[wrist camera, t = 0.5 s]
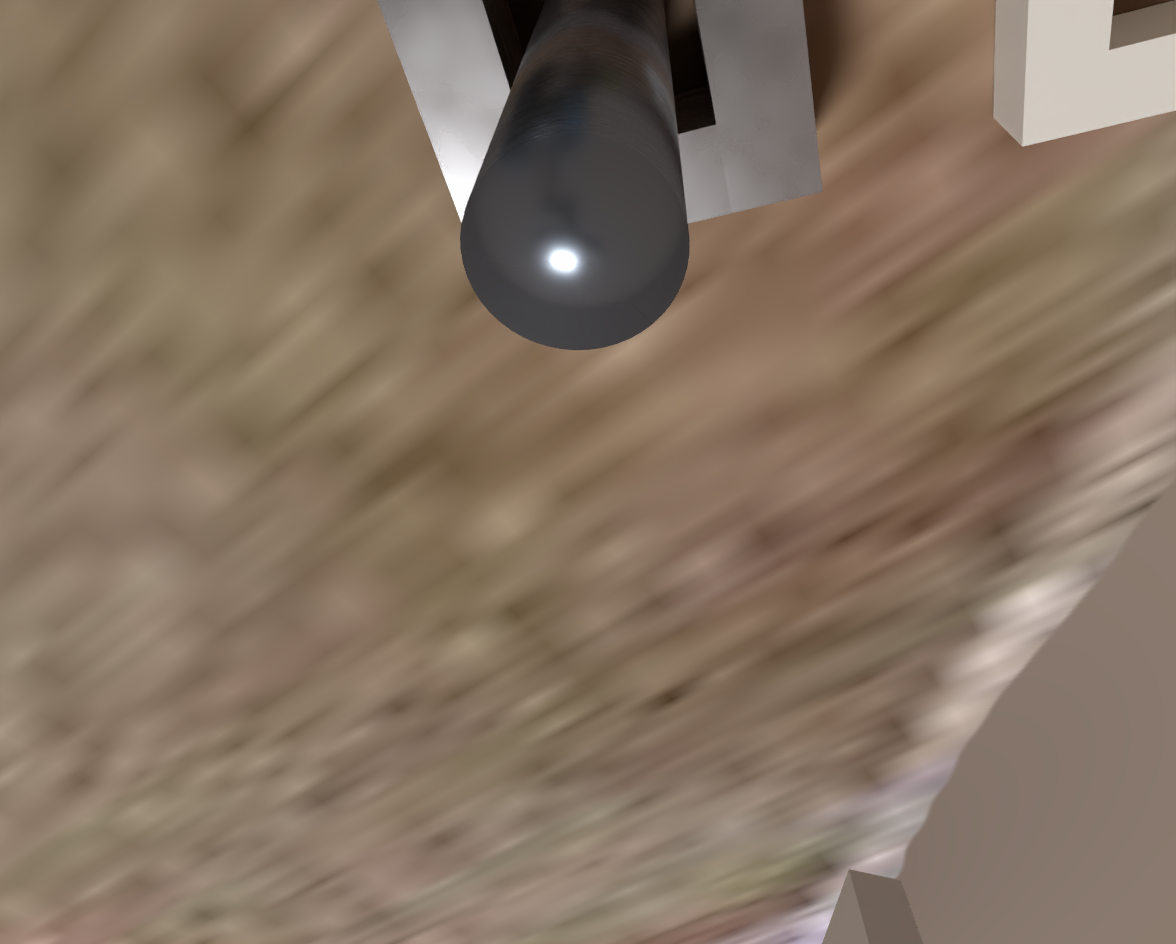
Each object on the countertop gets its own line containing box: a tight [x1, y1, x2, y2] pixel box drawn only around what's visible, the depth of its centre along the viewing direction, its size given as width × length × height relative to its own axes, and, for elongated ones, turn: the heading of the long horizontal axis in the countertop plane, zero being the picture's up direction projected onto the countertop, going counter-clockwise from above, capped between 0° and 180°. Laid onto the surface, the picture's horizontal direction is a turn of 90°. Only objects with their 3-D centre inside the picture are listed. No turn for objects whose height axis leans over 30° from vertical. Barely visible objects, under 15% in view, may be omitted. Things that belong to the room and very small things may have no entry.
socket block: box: [378, 0, 822, 223], centre depth 23 cm, size 10×10×4 cm
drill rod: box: [460, 0, 689, 350], centre depth 19 cm, size 3×3×15 cm
